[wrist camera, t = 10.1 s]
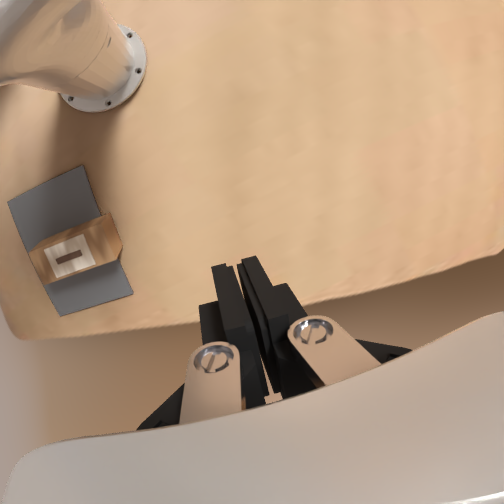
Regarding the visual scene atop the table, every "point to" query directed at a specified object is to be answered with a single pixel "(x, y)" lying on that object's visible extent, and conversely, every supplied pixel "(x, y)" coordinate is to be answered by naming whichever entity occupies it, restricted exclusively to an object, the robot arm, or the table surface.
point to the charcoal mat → (58, 220)
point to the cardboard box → (76, 249)
